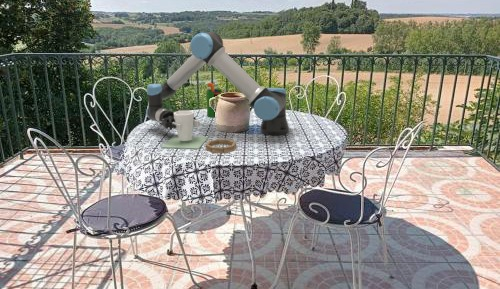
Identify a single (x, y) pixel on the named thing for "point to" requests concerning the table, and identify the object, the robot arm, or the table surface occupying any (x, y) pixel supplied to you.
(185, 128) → the foam cup
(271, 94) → the robot arm
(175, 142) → the mat
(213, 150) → the collar
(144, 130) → the table surface
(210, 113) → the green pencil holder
